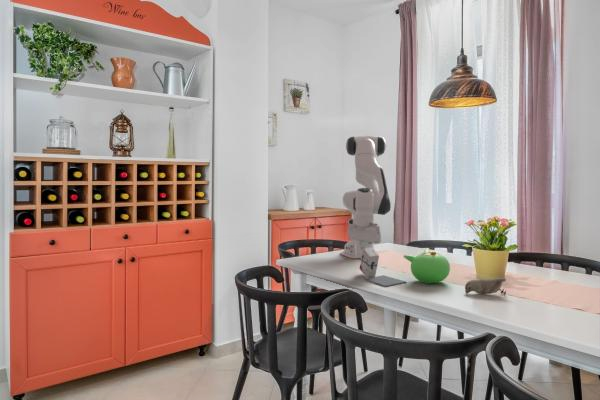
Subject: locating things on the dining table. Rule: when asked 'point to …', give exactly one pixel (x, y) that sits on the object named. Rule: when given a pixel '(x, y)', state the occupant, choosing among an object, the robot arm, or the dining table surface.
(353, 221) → the robot arm
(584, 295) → the dining table surface
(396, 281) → the mat
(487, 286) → the decorative bird
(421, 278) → the green teapot
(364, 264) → the ink box
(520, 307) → the dining table surface
